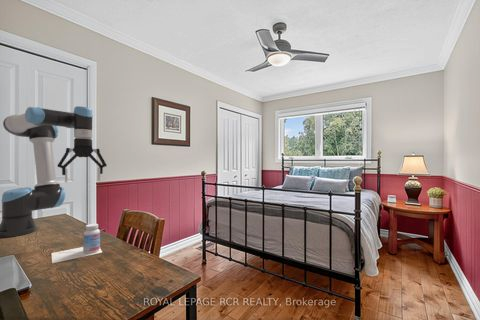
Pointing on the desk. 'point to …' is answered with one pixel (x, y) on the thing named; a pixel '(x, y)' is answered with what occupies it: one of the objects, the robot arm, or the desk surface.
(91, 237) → the pill bottle
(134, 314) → the desk surface
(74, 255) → the paper
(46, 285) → the desk surface
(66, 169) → the robot arm
